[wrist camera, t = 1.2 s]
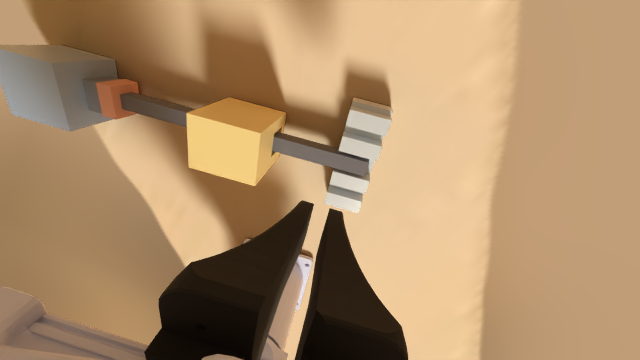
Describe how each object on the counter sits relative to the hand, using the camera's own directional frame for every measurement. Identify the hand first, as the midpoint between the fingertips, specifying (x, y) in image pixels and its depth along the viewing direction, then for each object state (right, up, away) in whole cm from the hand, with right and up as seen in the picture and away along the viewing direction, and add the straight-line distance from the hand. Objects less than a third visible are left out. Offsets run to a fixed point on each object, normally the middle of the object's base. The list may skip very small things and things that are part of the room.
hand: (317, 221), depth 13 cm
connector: (-20, +11, +10) cm, 25 cm away
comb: (+3, +4, +9) cm, 11 cm away
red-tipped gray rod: (-7, +7, +9) cm, 13 cm away
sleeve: (-5, +7, +9) cm, 13 cm away
